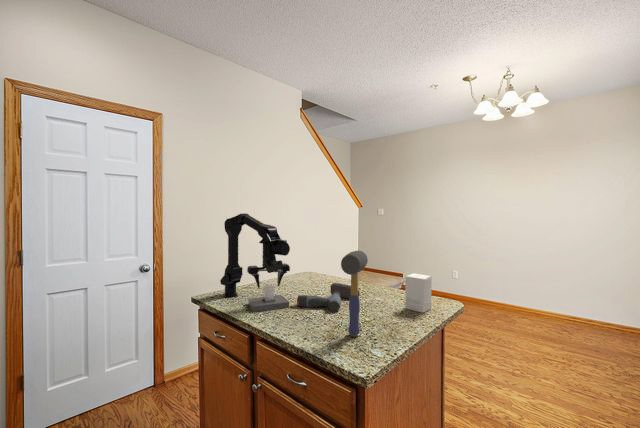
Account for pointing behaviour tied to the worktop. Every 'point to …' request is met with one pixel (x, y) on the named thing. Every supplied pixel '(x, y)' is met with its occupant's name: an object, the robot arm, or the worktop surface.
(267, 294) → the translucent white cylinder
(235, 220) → the robot arm
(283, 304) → the grey slab with hole
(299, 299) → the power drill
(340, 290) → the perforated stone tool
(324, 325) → the worktop surface
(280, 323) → the worktop surface
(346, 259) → the rubber mallet
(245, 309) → the worktop surface
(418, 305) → the supplement box
